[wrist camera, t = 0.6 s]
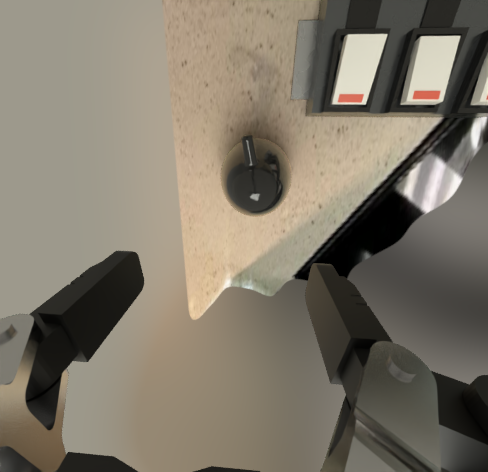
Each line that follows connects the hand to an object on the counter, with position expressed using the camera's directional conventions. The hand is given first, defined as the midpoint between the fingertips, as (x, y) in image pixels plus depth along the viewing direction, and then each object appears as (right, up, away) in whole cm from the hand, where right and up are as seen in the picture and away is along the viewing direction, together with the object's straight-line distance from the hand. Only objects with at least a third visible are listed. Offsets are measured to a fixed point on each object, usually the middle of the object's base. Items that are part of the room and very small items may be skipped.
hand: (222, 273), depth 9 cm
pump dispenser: (+3, +13, +23) cm, 27 cm away
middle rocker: (+22, +20, +13) cm, 32 cm away
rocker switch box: (+22, +24, +16) cm, 37 cm away
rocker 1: (+14, +20, +13) cm, 28 cm away
